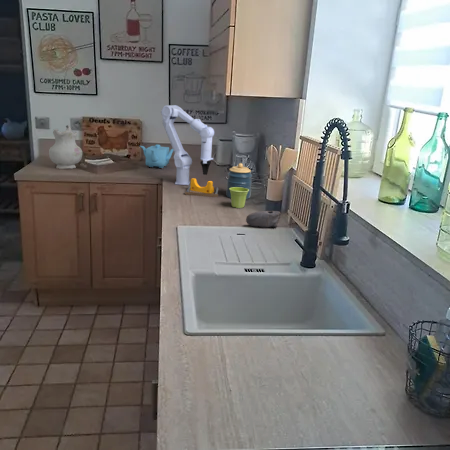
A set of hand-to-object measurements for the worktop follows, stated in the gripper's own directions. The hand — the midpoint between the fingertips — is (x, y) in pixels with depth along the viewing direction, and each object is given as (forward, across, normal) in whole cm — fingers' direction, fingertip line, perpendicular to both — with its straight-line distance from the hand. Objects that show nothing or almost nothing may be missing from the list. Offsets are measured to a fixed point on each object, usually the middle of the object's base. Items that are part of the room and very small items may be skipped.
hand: (205, 174), depth 257 cm
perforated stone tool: (+8, -64, -30) cm, 71 cm away
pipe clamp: (+8, -9, +1) cm, 12 cm away
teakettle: (+7, +48, +35) cm, 60 cm away
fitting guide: (+7, -12, 0) cm, 14 cm away
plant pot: (+8, -35, -19) cm, 41 cm away
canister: (+8, -15, -19) cm, 25 cm away
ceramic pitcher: (+7, +29, +88) cm, 93 cm away
